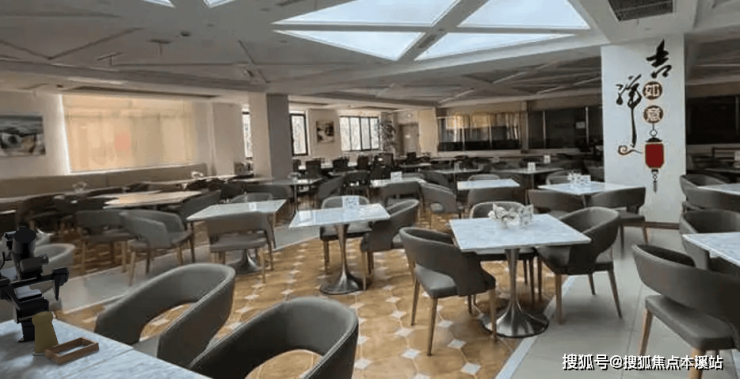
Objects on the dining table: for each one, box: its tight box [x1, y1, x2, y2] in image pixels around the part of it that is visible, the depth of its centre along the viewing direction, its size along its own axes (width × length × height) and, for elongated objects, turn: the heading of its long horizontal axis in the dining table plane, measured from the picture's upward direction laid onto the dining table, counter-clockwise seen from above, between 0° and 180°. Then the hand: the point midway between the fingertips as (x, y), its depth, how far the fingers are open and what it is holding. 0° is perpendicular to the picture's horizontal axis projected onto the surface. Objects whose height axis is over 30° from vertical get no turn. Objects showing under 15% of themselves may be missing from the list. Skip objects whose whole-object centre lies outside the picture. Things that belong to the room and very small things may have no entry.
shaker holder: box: [44, 336, 100, 365], centre depth 136 cm, size 10×10×2 cm
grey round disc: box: [32, 349, 45, 357], centre depth 139 cm, size 7×7×1 cm
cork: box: [32, 310, 60, 353], centre depth 139 cm, size 6×6×11 cm
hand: (39, 304), depth 139 cm, fingers open, 9 cm apart
